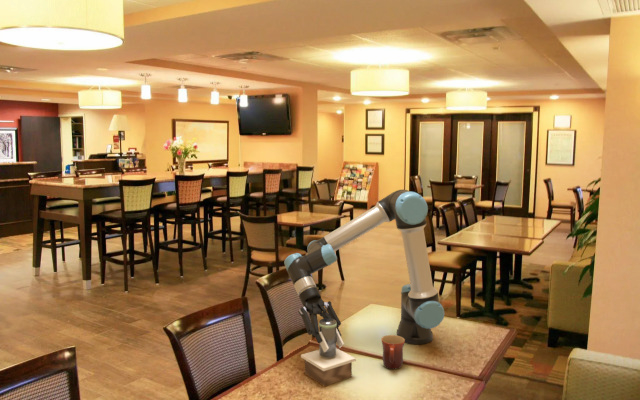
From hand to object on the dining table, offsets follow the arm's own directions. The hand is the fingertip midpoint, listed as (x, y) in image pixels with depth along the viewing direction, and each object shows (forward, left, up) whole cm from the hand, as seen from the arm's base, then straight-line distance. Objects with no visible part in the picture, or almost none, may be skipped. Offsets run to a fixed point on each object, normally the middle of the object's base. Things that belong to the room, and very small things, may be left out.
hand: (334, 347), depth 180 cm
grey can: (0, -4, -3) cm, 5 cm away
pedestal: (0, -4, -11) cm, 12 cm away
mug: (-23, +5, -12) cm, 26 cm away
